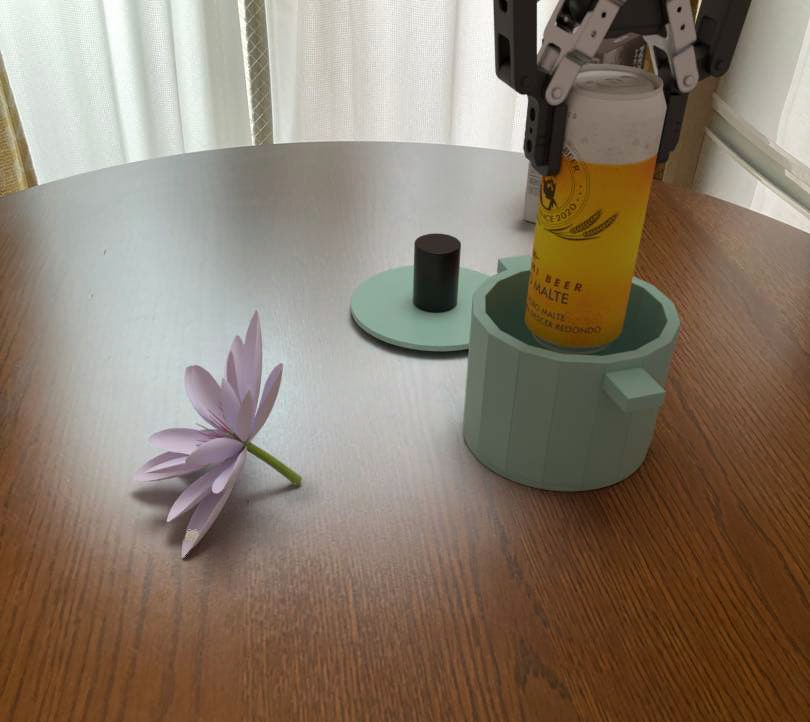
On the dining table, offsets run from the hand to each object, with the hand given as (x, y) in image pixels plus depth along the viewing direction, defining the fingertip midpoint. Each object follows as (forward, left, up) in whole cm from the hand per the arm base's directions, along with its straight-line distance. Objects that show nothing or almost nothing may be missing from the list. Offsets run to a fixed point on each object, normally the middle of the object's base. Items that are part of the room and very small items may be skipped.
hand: (599, 164), depth 51 cm
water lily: (+23, -1, -18) cm, 30 cm away
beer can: (0, 0, -11) cm, 11 cm away
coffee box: (-18, -33, -18) cm, 42 cm away
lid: (+2, -18, -18) cm, 25 cm away
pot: (0, 0, -18) cm, 18 cm away
